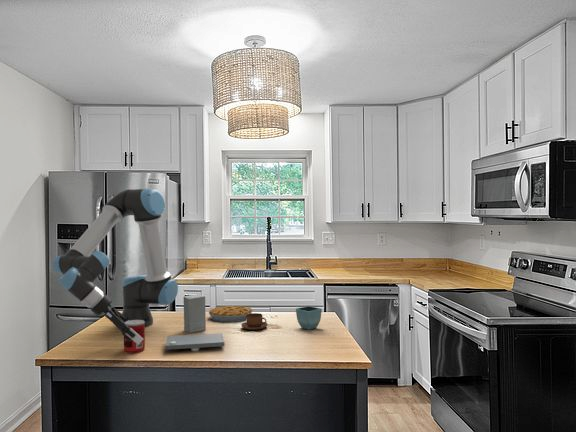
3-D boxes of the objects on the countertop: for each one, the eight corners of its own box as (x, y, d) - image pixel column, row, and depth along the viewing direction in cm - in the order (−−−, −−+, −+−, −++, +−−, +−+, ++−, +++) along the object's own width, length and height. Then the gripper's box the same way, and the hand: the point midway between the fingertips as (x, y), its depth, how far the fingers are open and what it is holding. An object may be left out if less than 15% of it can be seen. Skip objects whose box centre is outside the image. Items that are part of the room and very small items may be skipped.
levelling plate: (167, 343, 191) (167, 335, 191) (222, 340, 195) (222, 332, 195) (165, 353, 177) (165, 344, 177) (224, 349, 182) (224, 341, 182)
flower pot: (308, 331, 209) (308, 311, 209) (295, 328, 215) (295, 308, 215) (322, 328, 215) (322, 308, 215) (309, 324, 221) (309, 305, 221)
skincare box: (200, 327, 217) (200, 293, 217) (206, 331, 211) (206, 295, 211) (182, 330, 212) (182, 295, 212) (188, 333, 206) (188, 297, 206)
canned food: (147, 347, 186) (146, 319, 186) (141, 353, 178) (141, 324, 178) (127, 347, 185) (127, 319, 185) (121, 353, 177) (120, 324, 177)
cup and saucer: (269, 325, 221) (269, 312, 221) (265, 331, 209) (265, 318, 209) (244, 325, 223) (244, 311, 223) (238, 331, 211) (238, 317, 211)
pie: (240, 324, 224) (240, 314, 224) (200, 321, 231) (200, 310, 231) (259, 315, 244) (259, 305, 244) (221, 312, 252) (221, 302, 252)
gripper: (90, 303, 187) (130, 337, 193) (88, 315, 164) (134, 353, 170) (104, 288, 189) (143, 322, 195) (105, 299, 166) (149, 337, 171)
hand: (139, 337), depth 182 cm, fingers open, 13 cm apart
